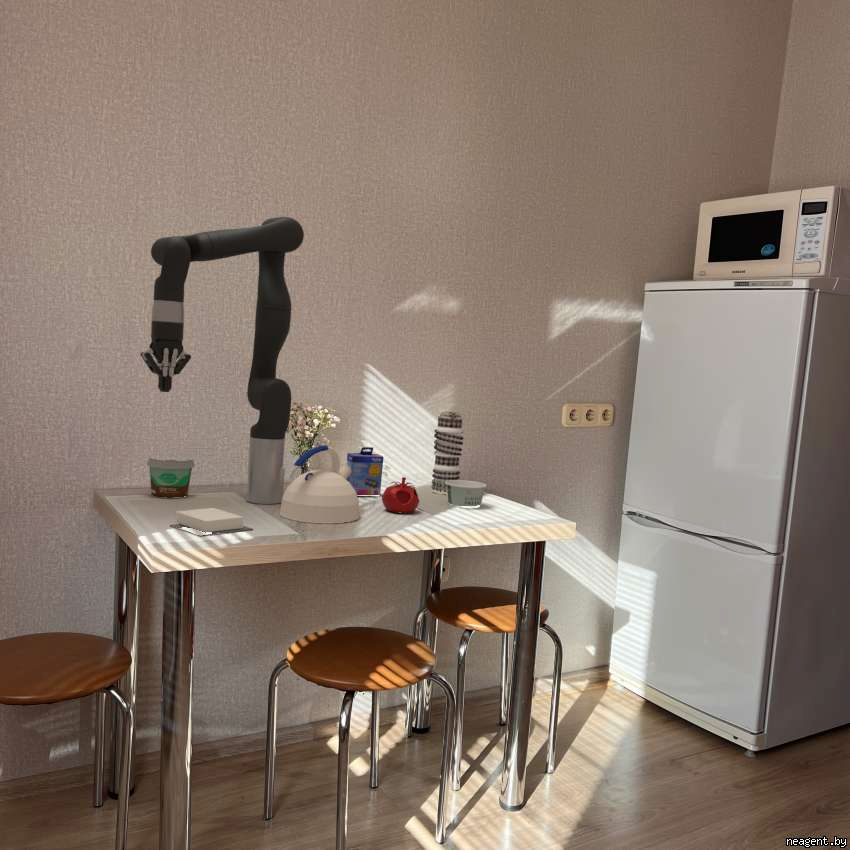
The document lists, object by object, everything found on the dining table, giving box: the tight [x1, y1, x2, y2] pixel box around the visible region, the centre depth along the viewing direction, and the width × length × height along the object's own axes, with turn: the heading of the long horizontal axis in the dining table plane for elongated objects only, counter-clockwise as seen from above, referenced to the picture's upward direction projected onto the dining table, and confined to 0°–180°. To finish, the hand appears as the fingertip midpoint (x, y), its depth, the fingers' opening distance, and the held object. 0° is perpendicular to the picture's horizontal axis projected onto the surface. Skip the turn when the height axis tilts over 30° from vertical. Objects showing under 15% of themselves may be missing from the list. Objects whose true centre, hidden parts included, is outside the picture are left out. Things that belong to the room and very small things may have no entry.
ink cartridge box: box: [346, 446, 385, 496], centre depth 257 cm, size 10×6×14 cm, turn 114°
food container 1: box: [146, 457, 195, 499], centre depth 233 cm, size 12×6×10 cm, turn 112°
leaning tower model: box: [431, 411, 465, 492], centre depth 272 cm, size 9×9×25 cm
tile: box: [175, 507, 245, 533], centre depth 200 cm, size 3×10×12 cm
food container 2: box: [445, 479, 488, 506], centre depth 253 cm, size 12×12×6 cm
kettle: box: [279, 444, 361, 525], centre depth 223 cm, size 20×21×18 cm
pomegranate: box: [381, 476, 420, 514], centre depth 237 cm, size 10×10×9 cm
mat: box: [169, 523, 254, 534], centre depth 200 cm, size 12×14×1 cm
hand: (164, 391), depth 215 cm, fingers closed
